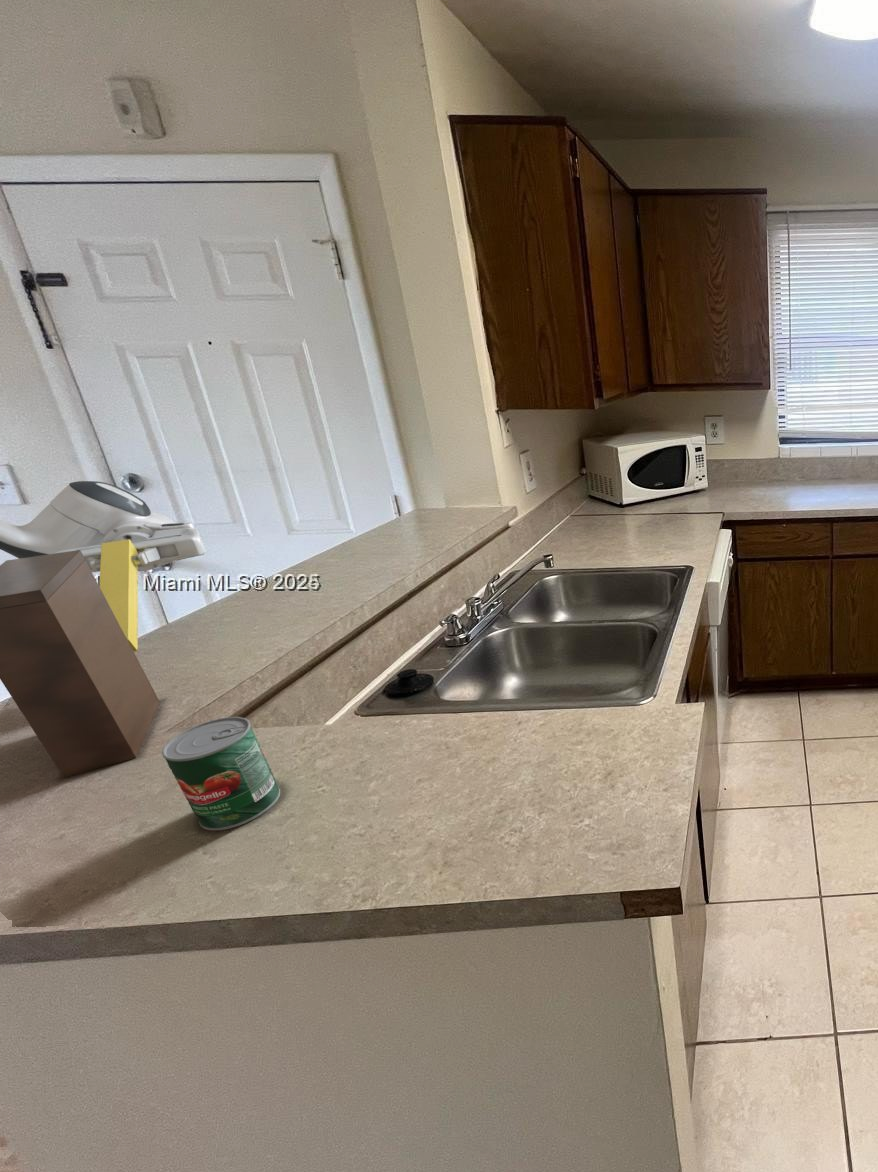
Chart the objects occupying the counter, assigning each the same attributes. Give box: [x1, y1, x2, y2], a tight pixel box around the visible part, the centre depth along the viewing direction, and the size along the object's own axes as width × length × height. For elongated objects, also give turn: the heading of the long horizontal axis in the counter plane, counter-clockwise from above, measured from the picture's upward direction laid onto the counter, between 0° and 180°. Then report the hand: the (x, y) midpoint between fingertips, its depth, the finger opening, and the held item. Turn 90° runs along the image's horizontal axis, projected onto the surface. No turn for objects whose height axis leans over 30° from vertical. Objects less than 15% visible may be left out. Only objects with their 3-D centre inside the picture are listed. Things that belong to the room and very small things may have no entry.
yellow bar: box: [98, 539, 139, 653], centre depth 101 cm, size 4×24×3 cm, turn 36°
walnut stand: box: [0, 550, 160, 778], centre depth 84 cm, size 7×16×26 cm, turn 35°
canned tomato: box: [161, 716, 281, 832], centre depth 75 cm, size 8×8×11 cm
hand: (118, 563), depth 104 cm, fingers closed on yellow bar, 3 cm apart
